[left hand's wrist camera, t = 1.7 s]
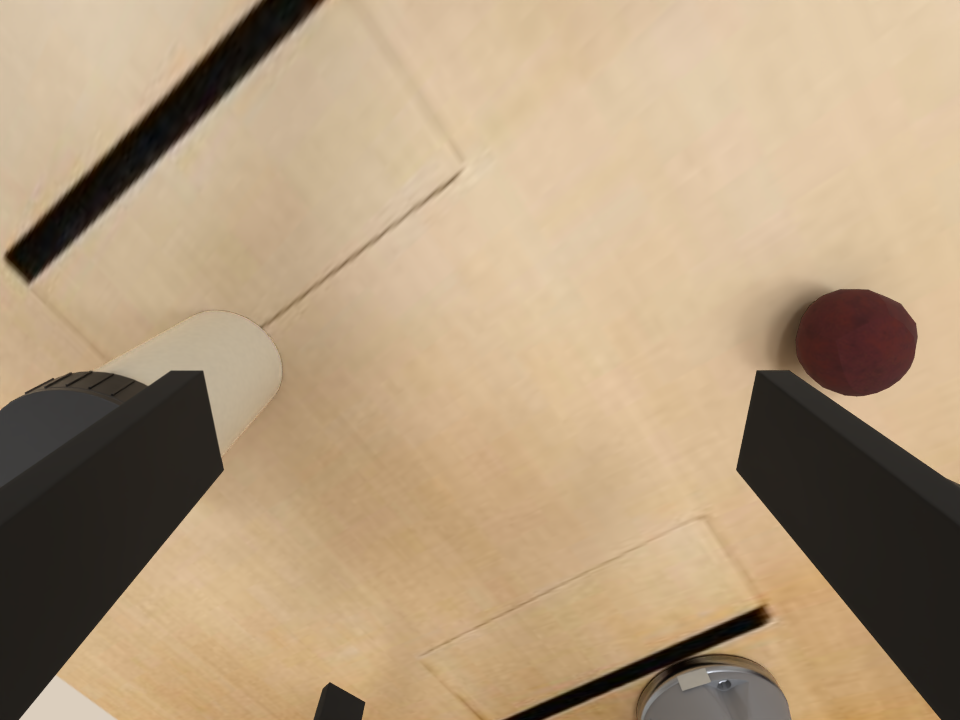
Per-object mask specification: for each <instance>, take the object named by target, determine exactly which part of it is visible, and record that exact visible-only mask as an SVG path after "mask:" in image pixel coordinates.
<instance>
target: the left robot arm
mask: <svg viewBox="0 0 960 720" xmlns="http://www.w3.org/2000/svg"><path fill="white" fill-rule="evenodd" d="M223 470H224V468H223V464H222V459H221V454H220V449H219V444H218V439H217V434H216V430H215V425H214V420H213V415H212V410H211V405H210V401H209V396H208V391H207V386H206V381H205V376H204V371H203V370H171V371H169V372H168V373H167V374H165V375H164V376H162V377H161V378H159V379H158V380H156V381H155V382H153V383H152V384H151V385H149V386H148V387H146V388H145V389H143V390H142V391H140V392H139V393H137V394H136V395H135V396H133V397H132V398H130V399H129V400H127V401H126V402H124V403H123V404H121V405H120V406H119V407H117V408H116V409H114V410H113V411H111V412H110V413H108V414H107V415H105V416H104V417H102V418H101V419H100V420H98V421H97V422H95V423H94V424H92V425H91V426H89V427H88V428H86V429H85V430H84V431H82V432H81V433H79V434H78V435H76V436H75V437H73V438H72V439H70V440H69V441H68V442H66V443H65V444H63V445H62V446H60V447H59V448H57V449H56V450H54V451H53V452H52V453H50V454H49V455H47V456H46V457H44V458H43V459H41V460H40V461H38V462H37V463H36V464H34V465H33V466H31V467H30V468H28V469H27V470H25V471H24V472H22V473H21V474H20V475H18V476H17V477H15V478H14V479H12V480H11V481H9V482H8V483H6V484H5V485H3V486H1V487H0V720H19V719H20V718H21V716H22V715H23V714H24V713H25V712H26V710H27V709H28V708H29V707H30V705H31V704H32V703H33V702H34V701H35V699H36V698H37V697H38V696H39V695H40V693H41V692H42V691H43V690H44V688H45V687H46V686H47V685H48V684H49V682H50V681H51V680H52V679H53V677H54V676H55V675H56V674H57V673H58V671H59V670H60V669H61V668H62V667H63V665H64V664H65V663H66V662H67V660H68V659H69V658H70V657H71V656H72V654H73V653H74V652H75V651H76V649H77V648H78V647H79V646H80V645H81V643H82V642H83V641H84V640H85V639H86V637H87V636H88V635H89V634H90V632H91V631H92V630H93V629H94V628H95V626H96V625H97V624H98V623H99V621H100V620H101V619H102V618H103V617H104V615H105V614H106V613H107V612H108V611H109V609H110V608H111V607H112V606H113V604H114V603H115V602H116V601H117V600H118V598H119V597H120V596H121V595H122V593H123V592H124V591H125V590H126V589H127V587H128V586H129V585H130V584H131V582H132V581H133V580H134V579H135V578H136V576H137V575H138V574H139V573H140V572H141V570H142V569H143V568H144V567H145V565H146V564H147V563H148V562H149V561H150V559H151V558H152V557H153V556H154V554H155V553H156V552H157V551H158V550H159V548H160V547H161V546H162V545H163V544H164V542H165V541H166V540H167V539H168V537H169V536H170V535H171V534H172V533H173V531H174V530H175V529H176V528H177V526H178V525H179V524H180V523H181V522H182V520H183V519H184V518H185V517H186V516H187V514H188V513H189V512H190V511H191V509H192V508H193V507H194V506H195V505H196V503H197V502H198V501H199V500H200V498H201V497H202V496H203V495H204V494H205V492H206V491H207V490H208V489H209V488H210V486H211V485H212V484H213V483H214V481H215V480H216V479H217V478H218V477H219V475H220V474H221V473H222V472H223ZM736 470H737V472H738V473H739V474H740V475H741V477H742V478H743V479H744V480H745V481H746V483H747V484H748V485H749V486H750V488H751V489H752V490H753V491H754V492H755V494H756V495H757V496H758V497H759V498H760V500H761V501H762V502H763V503H764V505H765V506H766V507H767V508H768V509H769V511H770V512H771V513H772V514H773V516H774V517H775V518H776V519H777V520H778V522H779V523H780V524H781V525H782V526H783V528H784V529H785V530H786V531H787V533H788V534H789V535H790V536H791V537H792V539H793V540H794V541H795V542H796V544H797V545H798V546H799V547H800V548H801V550H802V551H803V552H804V553H805V554H806V556H807V557H808V558H809V559H810V561H811V562H812V563H813V564H814V565H815V567H816V568H817V569H818V570H819V572H820V573H821V574H822V575H823V576H824V578H825V579H826V580H827V581H828V582H829V584H830V585H831V586H832V587H833V589H834V590H835V591H836V592H837V593H838V595H839V596H840V597H841V598H842V600H843V601H844V602H845V603H846V604H847V606H848V607H849V608H850V609H851V611H852V612H853V613H854V614H855V615H856V617H857V618H858V619H859V620H860V621H861V623H862V624H863V625H864V626H865V628H866V629H867V630H868V631H869V632H870V634H871V635H872V636H873V637H874V639H875V640H876V641H877V642H878V643H879V645H880V646H881V647H882V648H883V649H884V651H885V652H886V653H887V654H888V656H889V657H890V658H891V659H892V660H893V662H894V663H895V664H896V665H897V667H898V668H899V669H900V670H901V671H902V673H903V674H904V675H905V676H906V677H907V679H908V680H909V681H910V682H911V684H912V685H913V686H914V687H915V688H916V690H917V691H918V692H919V693H920V695H921V696H922V697H923V698H924V699H925V701H926V702H927V703H928V704H929V705H930V707H931V708H932V709H933V710H934V712H935V713H936V714H937V715H938V716H939V718H940V719H941V720H960V485H959V484H957V483H955V482H953V481H951V480H949V479H947V478H945V477H943V476H942V475H940V474H939V473H938V472H936V471H935V470H933V469H932V468H930V467H929V466H927V465H926V464H924V463H923V462H922V461H920V460H919V459H917V458H916V457H914V456H913V455H911V454H910V453H908V452H907V451H906V450H904V449H903V448H901V447H900V446H898V445H897V444H895V443H894V442H892V441H891V440H890V439H888V438H887V437H885V436H884V435H882V434H881V433H879V432H878V431H876V430H875V429H874V428H872V427H871V426H869V425H868V424H866V423H865V422H863V421H862V420H860V419H859V418H858V417H856V416H855V415H853V414H852V413H850V412H849V411H847V410H846V409H844V408H843V407H841V406H840V405H839V404H837V403H836V402H834V401H833V400H831V399H830V398H828V397H827V396H825V395H824V394H823V393H821V392H820V391H818V390H817V389H815V388H814V387H812V386H811V385H809V384H808V383H807V382H805V381H804V380H802V379H801V378H799V377H798V376H796V375H795V374H793V373H792V372H791V371H789V370H757V371H756V376H755V381H754V386H753V391H752V396H751V401H750V405H749V410H748V415H747V420H746V425H745V430H744V434H743V439H742V444H741V449H740V454H739V459H738V464H737V468H736Z"/></svg>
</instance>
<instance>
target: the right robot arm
mask: <svg viewBox="0 0 960 720" xmlns="http://www.w3.org/2000/svg"><path fill="white" fill-rule="evenodd" d="M364 706H365V702H364V701H362V700H360V699H358V698H357V697H355V696H353V695H351V694H350V693H348V692H346V691H344V690H343V689H341V688H339V687H337V686H336V685H334V684H332V683H328V684H327V685H326V686H325V687H324V688H323V690H322V693H321V697H320V700H319V703H318V707H317V710H316V713H315V717H314V720H362V715H363V711H364ZM637 718H638V720H791V716H790V711H789V706H788V703H787V700H786V698H785V696H784V694H783V692H782V691H781V689H780V687H779V685H778V684H777V682H776V680H775V679H774V677H773V676H772V675H771V674H770V672H768V671H767V670H766V669H765V668H764V667H762V666H761V665H759V664H757V663H755V662H753V661H750V660H747V659H744V658H740V657H735V656H725V655H714V656H704V657H698V658H694V659H690V660H687V661H684V662H681V663H679V664H676V665H674V666H672V667H670V668H669V669H667V670H665V671H664V672H662V673H661V674H659V675H658V676H657V677H655V678H654V679H653V680H652V681H651V682H650V683H649V684H648V686H647V687H646V688H645V690H644V691H643V693H642V695H641V697H640V699H639V702H638V706H637Z"/></svg>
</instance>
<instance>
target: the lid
mask: <svg viewBox="0 0 960 720" xmlns="http://www.w3.org/2000/svg"><path fill="white" fill-rule="evenodd" d="M146 387H148V386H147V385H145V384H143V383H141V382H139V381H136V380H134V379H131V378H128V377H125V376H122V375H118V374H114V373H107V372H95V371H89V372H77V373H72V372H71V373H68V374H66V375H64V376H61V377H58V378H56V379H54V378H52V379H50V380H48V381H46V382H44V383H42V384H41V385H39V386H37V387H35V388H33V389H31V390H29V391H27V392H25V395H23V396H21V397H19V398H17V399H15V400H13V401H11V402H10V403H9V404H8V405H6V406H5V407H4V408H2V409H1V410H0V487H1V486H3V485H5V484H6V483H8V482H9V481H11V480H12V479H14V478H15V477H17V476H18V475H20V474H21V473H22V472H24V471H25V470H27V469H28V468H30V467H31V466H33V465H34V464H36V463H37V462H38V461H40V460H41V459H43V458H44V457H46V456H47V455H49V454H50V453H52V452H53V451H54V450H56V449H57V448H59V447H60V446H62V445H63V444H65V443H66V442H68V441H69V440H70V439H72V438H73V437H75V436H76V435H78V434H79V433H81V432H82V431H84V430H85V429H86V428H88V427H89V426H91V425H92V424H94V423H95V422H97V421H98V420H100V419H101V418H102V417H104V416H105V415H107V414H108V413H110V412H111V411H113V410H114V409H116V408H117V407H119V406H120V405H121V404H123V403H124V402H126V401H127V400H129V399H130V398H132V397H133V396H135V395H136V394H137V393H139V392H140V391H142V390H143V389H145V388H146Z"/></svg>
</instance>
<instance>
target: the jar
mask: <svg viewBox="0 0 960 720" xmlns="http://www.w3.org/2000/svg"><path fill="white" fill-rule="evenodd" d="M171 370H203V371H204V376H205V381H206V386H207V391H208V396H209V401H210V405H211V410H212V415H213V420H214V425H215V430H216V434H217V439H218V444H219V449H220V454H221V458H222V457H223V456H224V455H225V454H226V452H227V451H228V450H229V449H230V448H231V447H232V445H233V444H234V443H235V442H236V441H237V440H238V438H239V437H240V436H241V435H242V434H243V433H244V431H245V430H246V429H247V428H248V427H249V426H250V424H251V423H252V422H253V421H254V420H255V419H256V418H257V416H258V415H259V414H260V413H261V412H262V411H263V409H264V408H265V407H266V406H267V405H268V404H269V402H270V401H271V400H272V399H273V398H274V396H275V395H276V393H277V392H278V390H279V387H280V385H281V380H282V363H281V358H280V355H279V352H278V350H277V348H276V346H275V344H274V343H273V341H272V340H271V338H270V337H269V336H268V335H267V333H266V332H265V331H264V330H263V329H262V328H260V327H259V326H258V325H257V324H255V323H254V322H252V321H251V320H249V319H247V318H245V317H243V316H241V315H238V314H235V313H232V312H227V311H218V310H214V311H205V312H200V313H197V314H195V315H193V316H191V317H189V318H187V319H185V320H183V321H181V322H180V323H178V324H176V325H174V326H172V327H170V328H169V329H167V330H165V331H163V332H161V333H159V334H158V335H156V336H154V337H152V338H150V339H148V340H147V341H145V342H143V343H141V344H139V345H137V346H136V347H134V348H132V349H130V350H128V351H127V352H125V353H123V354H121V355H119V356H117V357H116V358H114V359H112V360H110V361H108V362H106V363H105V364H103V365H101V366H99V367H97V368H95V369H94V370H92V371H95V372H107V373H114V374H118V375H122V376H125V377H128V378H131V379H134V380H136V381H139V382H141V383H143V384H145V385H147V386H149V385H151V384H152V383H153V382H155V381H156V380H158V379H159V378H161V377H162V376H164V375H165V374H167V373H168V372H169V371H171Z"/></svg>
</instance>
